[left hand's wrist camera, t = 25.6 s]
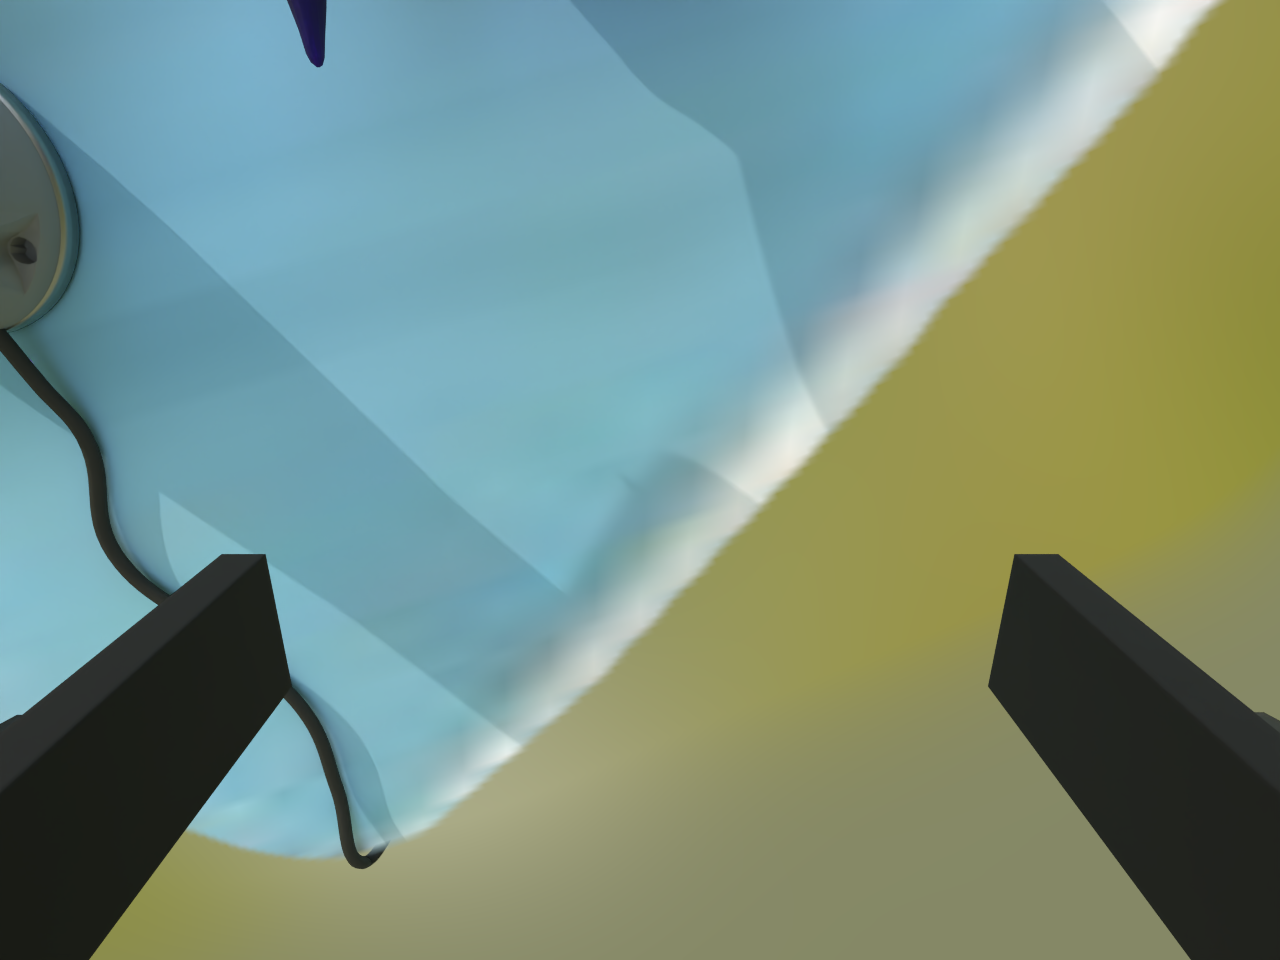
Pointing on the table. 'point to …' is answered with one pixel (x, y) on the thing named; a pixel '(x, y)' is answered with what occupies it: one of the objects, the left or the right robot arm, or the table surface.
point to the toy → (311, 27)
